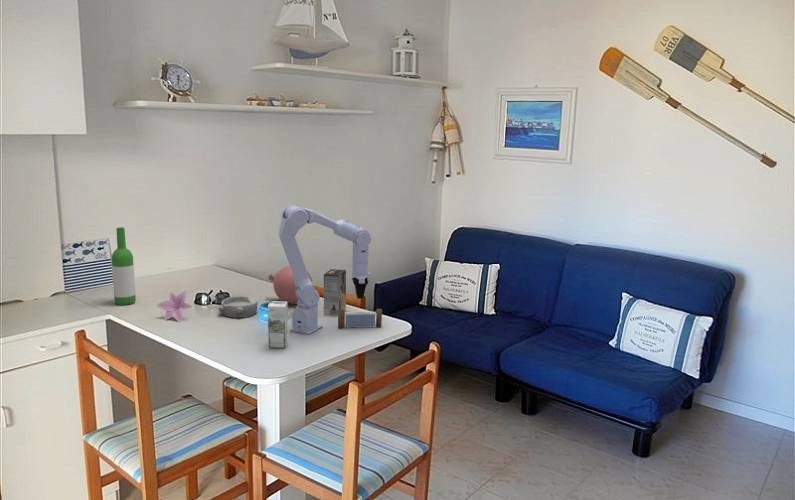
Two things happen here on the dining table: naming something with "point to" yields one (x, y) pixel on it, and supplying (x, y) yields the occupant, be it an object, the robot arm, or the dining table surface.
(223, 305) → the dish
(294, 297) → the pink balloon
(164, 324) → the dining table surface
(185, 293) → the lily
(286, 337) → the syrup box
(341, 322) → the gate posts
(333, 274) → the coffee box
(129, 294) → the wine bottle
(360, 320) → the block
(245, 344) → the dining table surface
